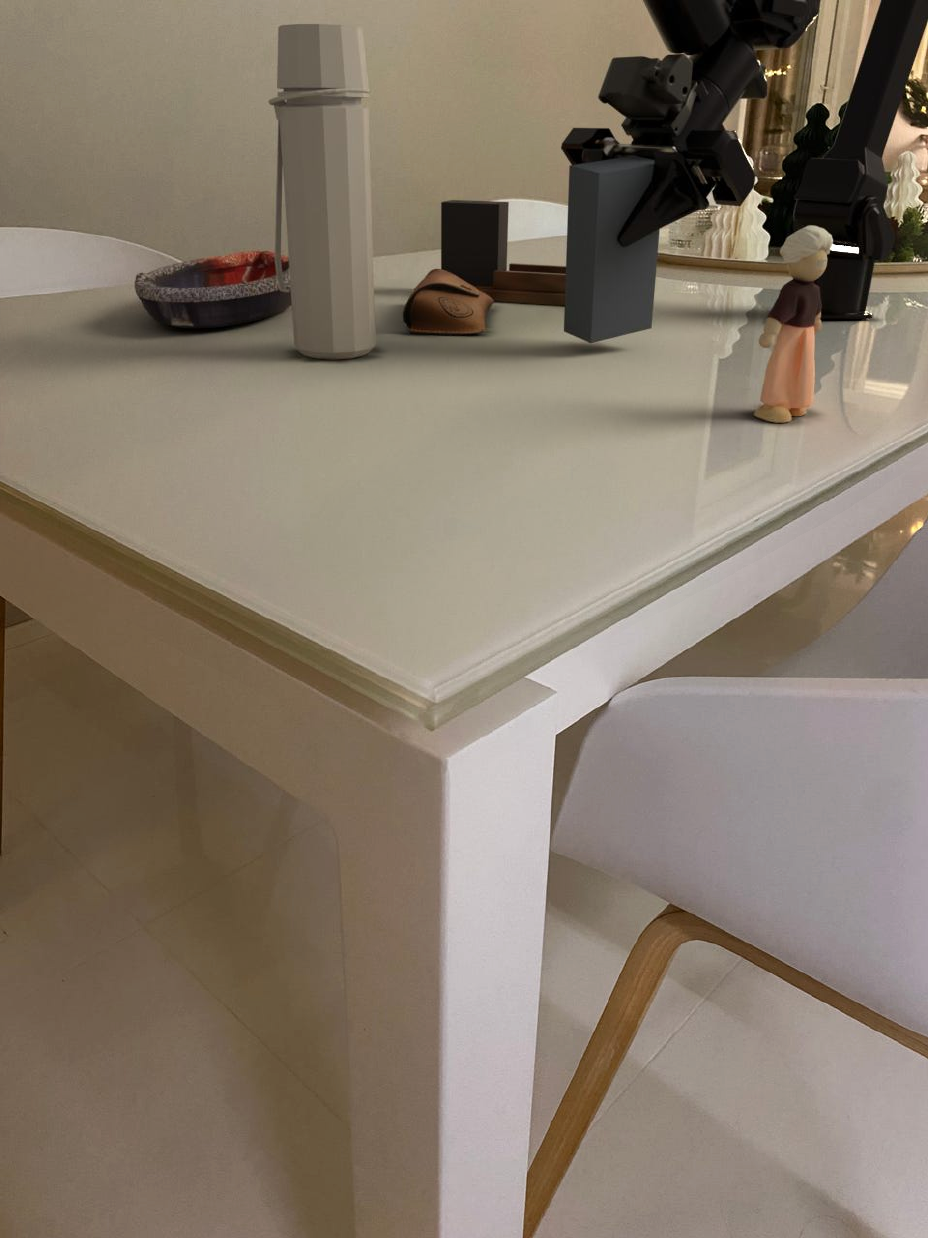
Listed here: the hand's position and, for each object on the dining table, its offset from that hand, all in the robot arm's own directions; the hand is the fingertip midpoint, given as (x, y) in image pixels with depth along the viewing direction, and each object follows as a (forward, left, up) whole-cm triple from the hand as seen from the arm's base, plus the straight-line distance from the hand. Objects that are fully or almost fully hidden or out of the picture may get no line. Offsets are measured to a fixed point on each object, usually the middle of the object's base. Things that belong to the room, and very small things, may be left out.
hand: (599, 240), depth 87 cm
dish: (+34, -24, -10) cm, 42 cm away
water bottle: (+24, -2, -10) cm, 26 cm away
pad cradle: (+2, -33, -9) cm, 34 cm away
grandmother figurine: (-9, +22, -10) cm, 26 cm away
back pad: (-2, -1, -8) cm, 8 cm away
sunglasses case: (+11, -18, -10) cm, 23 cm away
